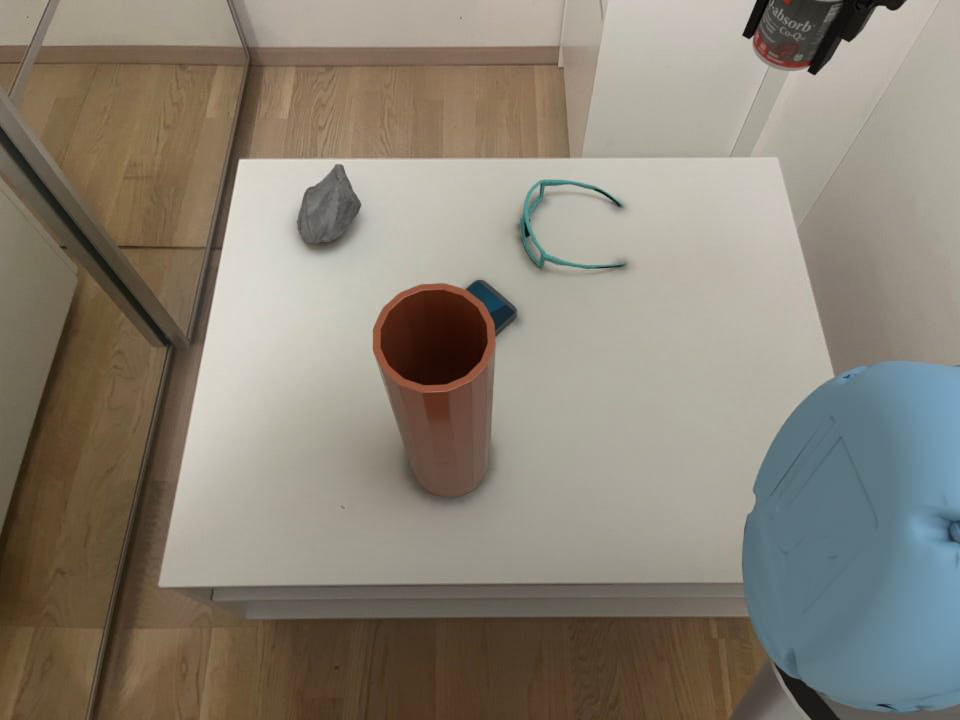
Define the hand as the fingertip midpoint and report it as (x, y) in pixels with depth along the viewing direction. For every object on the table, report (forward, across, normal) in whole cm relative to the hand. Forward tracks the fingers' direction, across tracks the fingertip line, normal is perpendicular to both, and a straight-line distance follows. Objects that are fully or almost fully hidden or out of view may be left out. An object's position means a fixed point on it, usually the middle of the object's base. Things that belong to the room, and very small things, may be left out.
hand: (786, 46), depth 58 cm
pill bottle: (0, 0, 0) cm, 0 cm away
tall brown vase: (+36, +5, +39) cm, 54 cm away
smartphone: (+36, +15, +26) cm, 47 cm away
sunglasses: (+36, +14, +4) cm, 39 cm away
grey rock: (+36, +40, +25) cm, 60 cm away
